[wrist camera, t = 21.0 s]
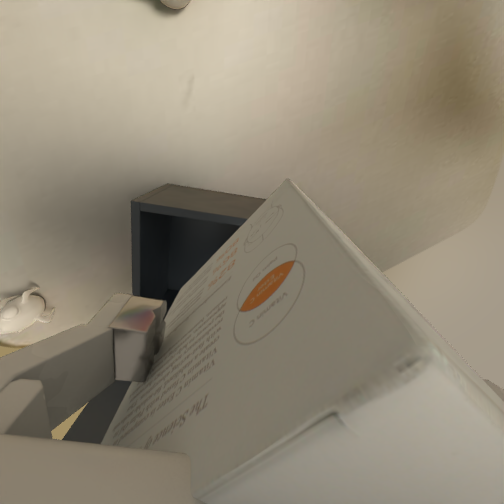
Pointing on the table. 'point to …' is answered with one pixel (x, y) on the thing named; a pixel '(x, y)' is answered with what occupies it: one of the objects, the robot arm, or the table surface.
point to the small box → (312, 379)
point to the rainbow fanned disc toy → (175, 3)
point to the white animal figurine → (22, 312)
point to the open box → (180, 235)
